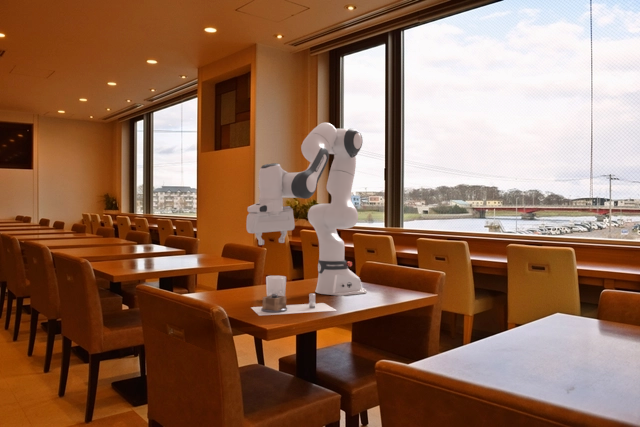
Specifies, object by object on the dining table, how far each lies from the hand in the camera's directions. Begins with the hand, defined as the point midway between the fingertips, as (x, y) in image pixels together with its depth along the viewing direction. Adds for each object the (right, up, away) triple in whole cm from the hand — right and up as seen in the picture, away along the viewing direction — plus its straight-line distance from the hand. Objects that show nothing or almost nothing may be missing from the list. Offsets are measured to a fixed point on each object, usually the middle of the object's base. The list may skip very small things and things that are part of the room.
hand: (271, 243), depth 193 cm
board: (+9, -24, -10) cm, 27 cm away
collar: (+2, -22, -12) cm, 25 cm away
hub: (+2, -23, -12) cm, 26 cm away
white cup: (+1, -24, +9) cm, 26 cm away
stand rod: (+15, -23, -8) cm, 28 cm away
